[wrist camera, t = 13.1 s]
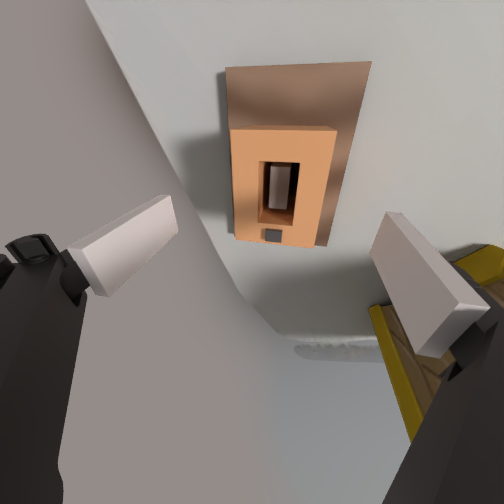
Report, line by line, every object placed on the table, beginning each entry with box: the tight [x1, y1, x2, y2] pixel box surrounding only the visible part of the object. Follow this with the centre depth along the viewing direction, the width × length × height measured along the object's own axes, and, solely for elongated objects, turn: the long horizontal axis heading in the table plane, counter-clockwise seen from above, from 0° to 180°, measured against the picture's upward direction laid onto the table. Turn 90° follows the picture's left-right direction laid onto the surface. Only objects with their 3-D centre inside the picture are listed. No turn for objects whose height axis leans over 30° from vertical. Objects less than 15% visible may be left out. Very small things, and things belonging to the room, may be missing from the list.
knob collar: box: [230, 125, 337, 248], centre depth 21 cm, size 10×8×10 cm
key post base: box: [225, 61, 372, 247], centre depth 23 cm, size 20×14×8 cm
